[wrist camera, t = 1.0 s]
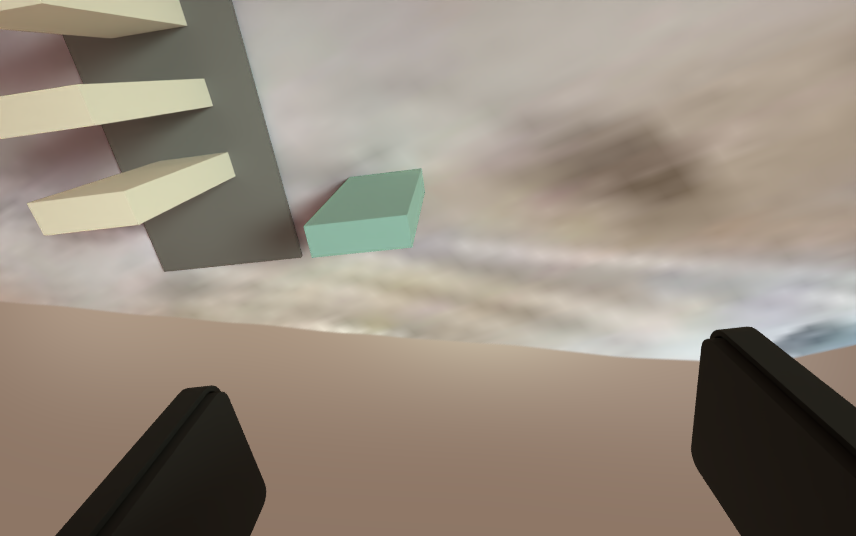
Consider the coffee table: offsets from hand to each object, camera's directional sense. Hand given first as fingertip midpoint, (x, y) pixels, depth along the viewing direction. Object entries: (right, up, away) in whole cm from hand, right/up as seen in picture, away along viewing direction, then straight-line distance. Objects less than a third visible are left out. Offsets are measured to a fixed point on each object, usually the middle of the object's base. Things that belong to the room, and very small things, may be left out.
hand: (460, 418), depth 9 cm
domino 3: (-18, +10, +24) cm, 31 cm away
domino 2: (-19, +15, +22) cm, 32 cm away
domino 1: (-19, +19, +20) cm, 34 cm away
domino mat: (-19, +15, +22) cm, 33 cm away
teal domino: (-4, +9, +24) cm, 26 cm away
